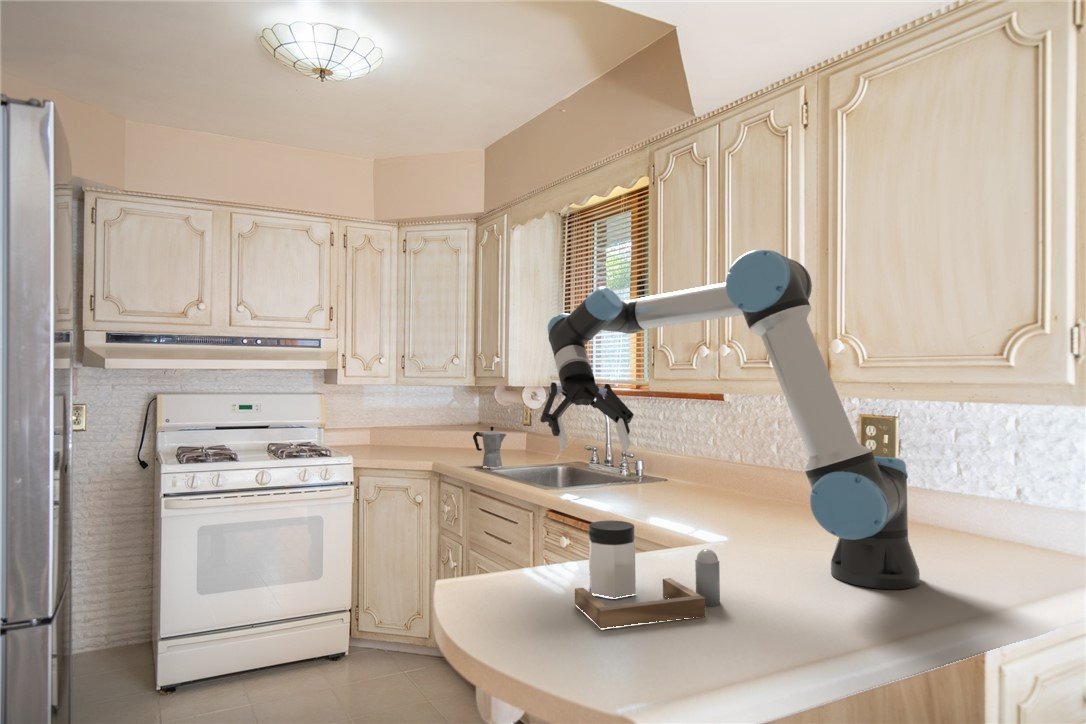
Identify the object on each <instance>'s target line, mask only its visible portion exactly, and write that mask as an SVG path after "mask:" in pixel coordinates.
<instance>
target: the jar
mask: <svg viewBox="0 0 1086 724" xmlns="http://www.w3.org/2000/svg"><path fill="white" fill-rule="evenodd" d="M588 536H589V537H588V540H589V541H588V542H589V543H588V544H589V549H588V550H589V554H588V567H589V568H588V571H589V590H590V589H591V591H590V594H591V593H594V594H599V595H604V596H609V597H613V598H616V597H620V596H621V597H622V596H626V595H632V594H636V595H637V589H636V588H637V587H636V583H637V581H636V580H637V579H636V541H634V540H635V525H634V524H633V523H631V522H628V521H623V520H598V521H592V522H591V523H590V524H589V526H588Z"/></svg>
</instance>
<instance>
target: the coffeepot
mask: <svg viewBox="0 0 1086 724" xmlns="http://www.w3.org/2000/svg"><path fill="white" fill-rule="evenodd" d="M494 429H495V427H494V426H490V430H488V431H486V432H484V431H476V432H475V433H474V434H473V435H472V439H473V441H474V445H475V448H476V451H480V452H482V451H483V449H484V453H483V459H482V465H483V466H487V467H499V466H502V467H503V463H502V456H501V445H502V443H503V441H504V439H505V437H506V436H507V433H503V432H499V431H495V430H494ZM478 437H482V443H483V448H480V443H479V440H478Z"/></svg>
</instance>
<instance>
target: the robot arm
mask: <svg viewBox="0 0 1086 724" xmlns="http://www.w3.org/2000/svg"><path fill="white" fill-rule="evenodd" d="M812 287H813V284H812V278H811V275H810V274H809V272H808V270H807V269H806V267H805V266H804V265H802V264H801V263H800V262H798V261H796V260H795V259H791V258H788V257H787V256H785V255H782V254H780V253H779V252H777V251H775V250H770V249H769V250H767V249H754V250H751V251H747V252H746V253H744V254H742V255H741V256H739V257H738V258H737V259H736V260H735V261H734V262H733V263H732V265H731V266H730V269H729V271H728V273H727V274H726V280H725V282H722V283H716V284H710V285H704V286H700V287H695V288H694V287H693V288H689V289H684V290H677V291H673V292H666V293H662V294H655V295H649V296H645V297H640V298H635V299H630V300H629V299H628V300H621V299H620V297H619V296H618V295H617V293H616V292H614V290H613V289H610V288H608V286H607V287H606V286H599V287H597V288H596V289H595V290H594V291H593V292H591V293H590V294H589V295H587V296H586V298H585V299H584V300H583V301H582V302H581V303H580V304H579V305H578V306H577V307H576V308H575V309H574V310H573V311H572V312H571V313H559V315H557V316H556V315H554V317H552V318H551V319H550V320H549V322H548V324H547V334H548V341H549V344H550V346H551V350H552V352H553V357H554V362H555V367H556V369H557V370H556V371H557V375H558V378H559V382H560V385H557V383H556V382H554V381H553V382H551V384H550V387H549V388H548V398H547V401H546V403H545V406H544V409H543V411H542V414H541V416H540V420H539V421H540V423H543V424H544V423H545V422H546V423H547V425H548V427H549V428H550V429H551V433H552V435H553V436H554V437H557V441H558V446H559V450H560V452H565V451H566V448H567V447H568V443H569V442H568V440H567V435H566V430H565V427H564V423H563V420H562V419H563V418H562V416H563V415H564V413H565V411H566V410H567V409H568V408H570V406H571V405H572V404H573V405H575V406H581V405H582V406H591V407H592V408H593V409H598V410H599V411H600V412H602V414H604V415H606V417H608V418H610V419H611V420H612V421H613V422H614V423H616V424H615V430H616V432H617V436H618V439H619V441H620V445H621V449H622V452H627V451H628V449H629V447H630V445H631V440H630V438H629V434H630V432H631V430H630V427H629V425H630V423H631V422H632V419H633V417H634V415H635V414H634V413H633V412H632V411H631V409H629V407H628V406H627V405H626V404H625V403H624V402H623V401H622V400H621V398H619V396H617V394H616V393H615V392H613V389H612V387H611V384H608V383H605V384H604V386H598V385H597V384H596V379H595V376H594V372H593V368H592V366H591V362H590V359H589V356H588V353H587V352H588V351H587V348H586V344H587V343H588V342H589V341H591V340H592V339H593V338H594V337H596V335H598V334H599V332H601V331H603V332H604V331H605V332H616V333H623V334H637V333H640V332H641V331H643V330H648V329H656V328H662V327H663V328H664V327H669V326H676V325H684V324H691V323H697V322H698V323H699V322H704V321H711V320H717V319H726V318H732V317H739V316H743V317H744V320H745V322H746V324H747V327H748V330H749V331H750V332H751V333H752V334H755V335H758V336H759V337H760V338H761V340H762V343H763V345H764V347H765V350H766V352H767V355H768V357H769V360H770V363H771V365H772V367H773V370H774V372H775V375H776V378H777V380H778V383H779V385H780V387H781V390H782V392H783V395H784V397H785V400H786V403H787V405H788V408H789V410H790V413H791V415H792V417H793V421H794V423H795V426H796V428H797V431H798V433H799V436H800V438H801V441H802V443H803V446H804V448H805V450H806V454H807V456H808V461H807V463H806V465H805V467H804V473H805V474H806V477H807V479H808V482H809V486H810V487H811V491H810V494H809V503H810V504H809V505H810V510H811V513H812V515H813V517H814V519H815V520H816V522H817V523H818V524H819V525H820V527H822V529H824V530H825V531H826V532H828V533H829V534H830V535H833V536H835V537H837V538H838V539H837V543H836V546H835V548H834V551H833V554H832V558H831V560H830V574H831V575H832V577H834V578H835V579H837V580H839V581H841V582H844V583H848V584H851V585H856V586H861V587H863V588H864V587H865V588H871V589H872V588H873V589H880V590H882V589H883V590H905V589H912V588H916V587H917V586H919V585H920V581H921V580H920V578H921V577H920V568H919V565H918V563H917V561H916V558H915V555H914V552H913V549H912V547H911V545H910V541H909V531H908V530H909V527H908V526H909V525H908V524H909V522H908V518H909V517H908V484H907V483H908V482H907V481H908V477H909V476H908V471H907V465H906V462H905V461H904V460H903V459H901V458H897V457H885V456H874V454H873V451H872V449H871V448H869V447H866V446H864V445H862V444H861V443H859V442H858V440H857V436H856V434H855V432H854V430H853V427H852V425H851V422H850V421H849V417H848V416H847V412H846V410H845V408H844V406H843V404H842V401H841V398H840V396H839V394H838V392H837V389H836V387H835V384H834V381H833V379H832V377H831V374H830V373H829V368H827V365H826V362H825V360H824V358H823V356H822V352H821V350H820V347H819V345H818V343H817V341H816V339H815V337H814V334H813V332H812V329H811V326H810V324H809V322H808V317H809V314H810V313H811V310H812V306H811V304H810V301H809V300H810V297H811V294H812V292H813V291H812ZM560 393H561V394H562V396H564V399H563V401H561V403H560V404H559V405H558V406H557V407H556V409H555V410H554V411H553V413H550V412H551V409H552V406H553V404H554V401H555V398H556V397H557V396H559V395H560ZM595 399H596V400H595Z"/></svg>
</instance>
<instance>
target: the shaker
mask: <svg viewBox="0 0 1086 724" xmlns="http://www.w3.org/2000/svg"><path fill="white" fill-rule="evenodd" d="M694 561H695V565H694V566H695V567H694V568H695V569H694V571H695V592H696V593H697V594H699V595H701V596H702V597H704V598H705V607H717V606H719V605H721V583H720V582H721V581H720V580H721V578H720V569H721V568H720V560H719V557H718V555H717V554H716V552H715V551H714V550H712V549H709V548H704V549H702V550H700V551H698V553H697V555H696V559H695V560H694Z"/></svg>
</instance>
